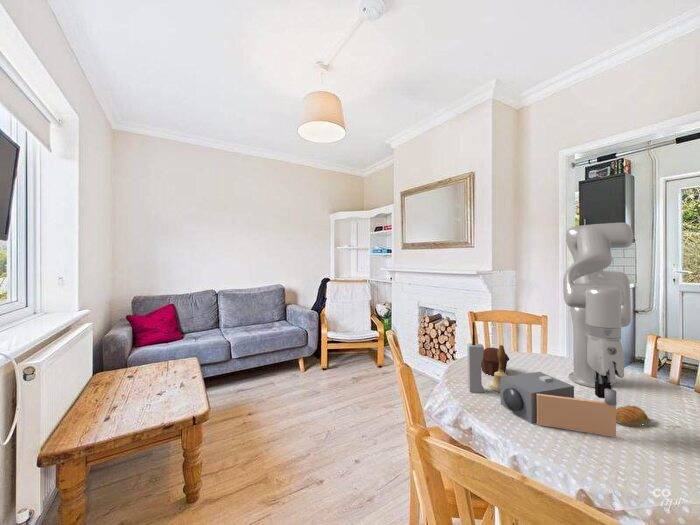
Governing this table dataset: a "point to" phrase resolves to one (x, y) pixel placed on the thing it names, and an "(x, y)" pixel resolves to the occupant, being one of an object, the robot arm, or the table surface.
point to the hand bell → (499, 371)
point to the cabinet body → (530, 392)
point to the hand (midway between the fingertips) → (603, 396)
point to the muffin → (492, 361)
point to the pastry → (631, 416)
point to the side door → (578, 413)
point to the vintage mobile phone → (474, 365)
